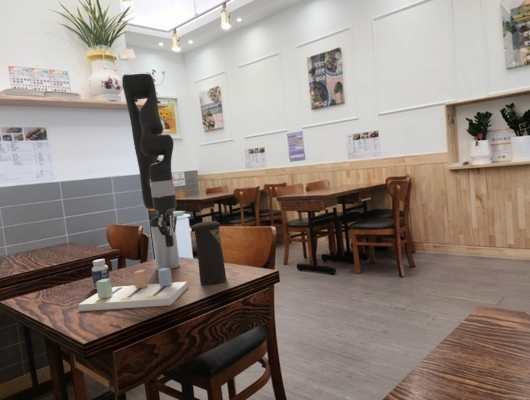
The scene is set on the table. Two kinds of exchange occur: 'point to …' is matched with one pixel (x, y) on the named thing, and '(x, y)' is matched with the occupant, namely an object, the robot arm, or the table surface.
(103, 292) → the sage lever
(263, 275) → the table surface
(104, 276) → the pill bottle
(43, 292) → the table surface
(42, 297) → the table surface
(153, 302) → the panel
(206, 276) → the container
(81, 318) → the table surface
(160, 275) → the slate lever
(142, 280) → the terracotta lever
